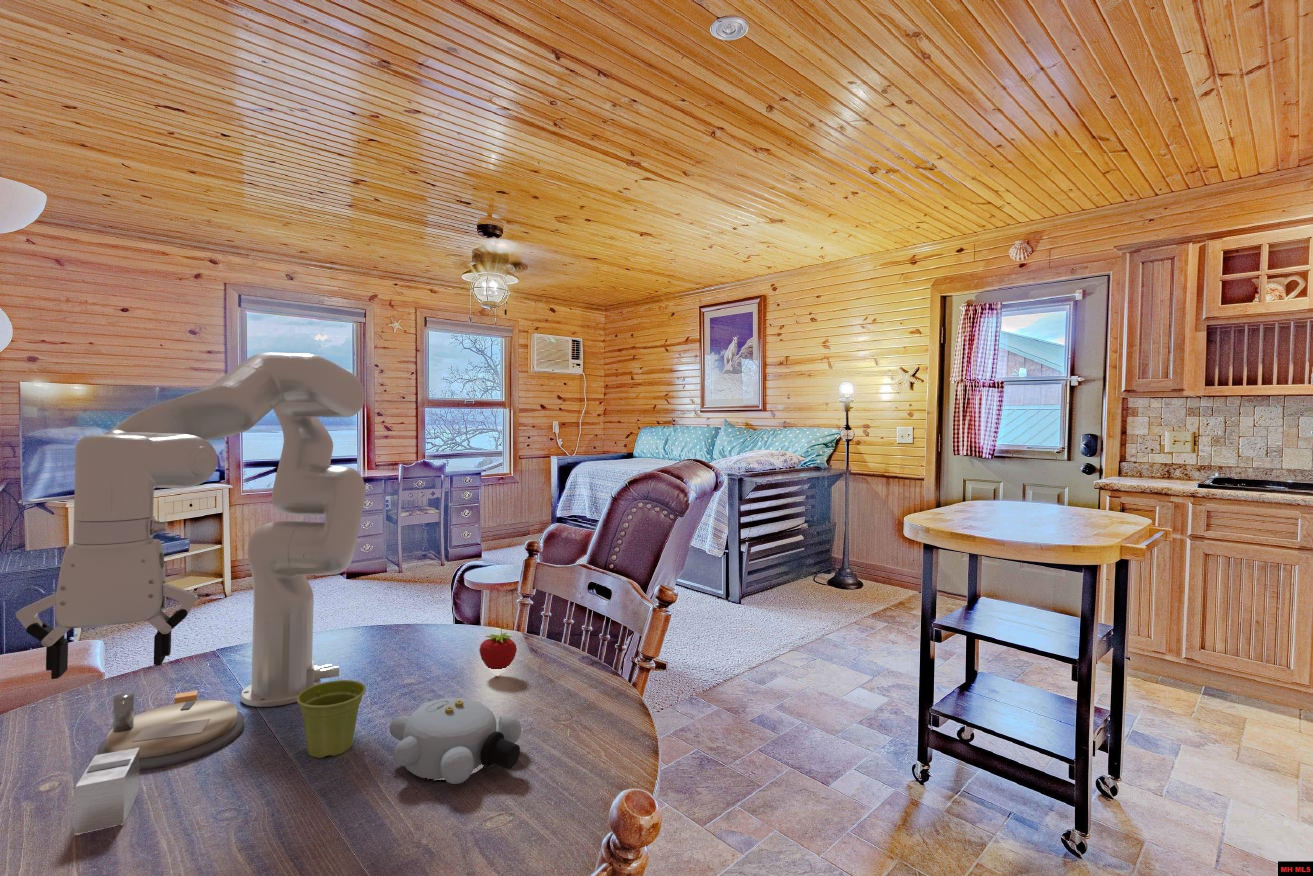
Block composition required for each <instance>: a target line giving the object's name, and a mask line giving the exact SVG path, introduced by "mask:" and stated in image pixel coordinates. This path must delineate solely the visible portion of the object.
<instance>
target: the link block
mask: <svg viewBox="0 0 1313 876" xmlns="http://www.w3.org/2000/svg"><path fill="white" fill-rule="evenodd" d="M139 758H140V748H134V749H128V750H123V751H117V752H111V753H106V754H100V755H97V754H96V755H94V757H93V759H92V760H91V761H90V763H89V765H88V766H87V767H86V769H85V771H84V773H83V774H82V775H81V777H80V779H79V780H78V782H77V783H76V785H75V790H74V792H75V794H74V795H75V796H74V826H73V827H74V828H73V829H74V830H73V831H74V832H73V834H76V833H81V832H88V831H91V830H96V829H101V828H106V827H109V826H113V825H121V824H122V823H123V824H125V823H124V821H125V819H126V817H127V818H128V816H129V814H130V812H129V811H131V809H132V807H133V805H134V803H135V802H136V801H135V800H136V798H137V796H138V794H139V791H140V785H139V784H140V770H139ZM126 820H127V819H126ZM125 822H126V821H125Z"/></svg>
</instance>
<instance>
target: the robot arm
mask: <svg viewBox="0 0 1313 876" xmlns="http://www.w3.org/2000/svg"><path fill="white" fill-rule="evenodd" d="M365 397H366V395H365V389H364V386H363V384H362V382H361V381H360V379H359V378H358V377H357V376H356V375H355V374H354V373H352V372H350V371H349V370H347V369H345V368H343V367H342V366H340V365H338V364H336V363H334V362H333V361H331V360H329V359H326V358H324V357H322V356H319V355H316V354H312V353H303V352H302V353H299V352H297V353H293V352H291V353H290V352H262V353H258V354H253V355H252V356H249V357H248V358H247V359H245V360H243V361H242V362H241V363H240V364H238V365H237V366H236V367H233V368H232V370H230V371H228V372H227V373H226V374H224V375H223V376H221V377H220V378H219V379H217V380H216V381H214V382H213V383H212V384H210V385H208V386H207V387H205V388H203V389H200V390H197V391H196V390H195V391H193V392H190V393H186V394H184V395H180V396H179V397H176V398H172V399H170V400H166V401H163V402H159V403H158V404H154V405H151V406H149V407H146V408H144V409H142V410H141V409H140V410H139V411H137V412H135V413H133V414H131V415H130V416H128V417H126V418H125V419H123V420H122V421H120V422H119V423H117V424H116V425H114V426H113V427H112V428H110V429H108V430H107V431H106V432H105V433H104V434H90V435H85V436H83V437H81V438H79V440H77V443H76V446H75V458H74V461H75V463H74V467H75V468H74V499H73V501H74V502H73V535H72V537H73V538H72V540H73V541H72V542H73V543H71V544H68V545H67V546H66V547H65V549H64V553H63V557H62V560H61V563H60V564H61V565H60V568H59V575H58V580H57V586H56V587H57V588H56V591H55V593H53V594H50V595H48V596H45V597H44V598H42V599H39V600H38V601H35V602H33V603H31V604H28V605H26V606H24V607H22V608H20V609H19V610H18V611H16V612H15V617H16V619H17V620H18V622H19V623H20V624H21V625H22V626H23V628H25V631H26V633H27V634H28V635H29V636H31V637H33V638H34V639H36V640H38V641H39V642H41V645H42V646H43V647H44V648H45V647H46V652H45V653H46V654H45V671H47V672H48V671H51V672H50V675H51V676H50V678H51V680H57V679H60V678H61V677H62V676H63V675H64V674H65V673H66V672H67V671H68V667H69V666H68V664H69V663H68V661H69V640H68V639H67V638H65V634H67V633H68V631H70V630H71V629H81V628H84V629H85V628H92V627H103V626H111V625H113V626H114V625H123V624H133V623H140V622H142V623H143V622H147V623H149V624H150V625H151V626H152V627H153V628H154V629H156V630H157V632H156V633H155V635H154V639H153V666H155V667H157V666H162V664H163V663H164V661H165V658H166V657H169V656H171V652H172V630H173V629H175V628H176V627H177V626H178V625H179V624H180V623H181V622H182V621H184V619H186V618H187V616H188V615H189V613H190V612H191V610H192V608H193V606H194V605H195V603H196V602H197V600H198V598H199V595H198V593H195V592H193V591H190V590H187V589H183V588H181V587H178V586H175V585H172V584H169V583H167V580H166V579H167V578H166V576H167V575H166V565H165V556H164V550H163V545H162V544H163V543H162V542H161V539H158V538H154V536H155V535H157V534H159V533H165V532H168V531H167V530H168V522H167V521H160V520H157V519H156V518H155V516H154V505H155V502H154V499H155V497H154V495H155V489H156V488H157V489H158V488H160V489H162V488H164V489H188V488H193V487H196V486H199V485H201V484H203V483H205V482H206V481H207V480H209V479H210V478H211V477H212V476H213V475H214V473H215V472H216V470H217V468H218V467H217V466H218V462H219V461H218V459H219V457H218V454H217V451H216V449H215V448H214V446H213V445H212V443H210V442H209V441H210V440H216V439H217V440H218V439H222V438H226V437H231V436H235V435H239V434H241V433H245V432H247V431H249V430H250V429H252V428H253V427H254V426H255V425H256V424H257V423H258V422H260V421H261V420H262V419H263V418H264V417H265V416H266V415H268V414H269V413H270V412H271V411H272V410H273V411H274V413H275V416H276V418H277V420H278V422H279V424H280V427H281V430H282V434H283V443H282V444H283V445H282V450H281V454H280V459H279V462H278V466H277V471H276V474H275V479H274V482H273V487H272V492H271V502H272V503H271V504H272V506H273V508H274V509H275V510H276V511H278V512H279V513H281V514H285V515H291V516H303V517H304V516H305V517H307V516H311V517H313V516H315V517H325V522H322V521H320V522H319V521H302V520H301V521H299V520H298V521H296V520H295V521H293V520H280V521H278V520H277V521H273V522H268V523H264V524H263V525H261V526H259V527H257V528H256V529H255V530H254V531H253V533H252V534H251V535H250V537H249V540H248V544H247V556H248V562H249V567H250V572H251V578H252V588H253V601H252V602H253V605H252V607H253V612H252V643H251V644H252V645H251V646H252V648H251V649H252V650H251V651H252V653H251V684H249V685H248V686H246V687H245V688H244V689H243V690H242V691H241V693H240V700H241V703H243V704H245V705H246V706H250V707H257V708H269V707H279V706H280V707H281V706H285V705H289V704H292V703H297V696H298V695H299V693H301V692H302V691H303V690H305V689H307V688H309V687H311V686H314V685H317V684H320V683H322V680H321V679H323V680H324V679H332V678H338V677H339V678H340V665H338V666H332V665H333V664H324V665H319V666H318V664H315V659H313V641H314V640H313V638H314V603H315V602H314V601H315V600H314V599H315V596H314V592H313V588H312V585H311V584H310V582H309V580H308V579H307V577H306V575H309V576H311V575H314V576H316V575H317V576H334V575H339V574H341V573H343V572H345V571H346V570H347V569H348V568H349V567H350V565H351V563H352V561H353V558H354V555H355V551H356V546H357V541H358V535H359V532H360V527H361V522H362V516H363V510H364V505H365V498H366V486H365V481H364V479H363V476H362V474H361V473H360V472H359V471H358V470H356V469H354V468H352V467H349V466H348V467H347V466H339V465H337V466H336V465H335V466H334V465H331V461H332V457H333V451H334V441H333V439H332V436H331V435H330V432H329V431H328V429H327V428H326V427H325V425H324V424H323V423H322V421H321V420H320V419H319V417H320V418H350V417H353V416H355V415H357V414H358V413H359V412H360V411H361V409H362V408H363V406H364V404H365ZM167 598H170V599H173V600H176V601H178V602H180V603H181V604H180V606H179V608H178V609H177V610H176V611H175V612H174V613H173V614H172V615H169V614H168V613H166V612H165V611H164V610H163V609H165V607H166V603H167V602H166V601H167ZM51 607H54V622H55V624H56V626H55V627H54V628H53V627H52V626H50V625H49V624H47V623H45V622H44V621H42V620H41V618H40V616H39V613H42V612H43V611H46V610H47V609H50V608H51Z"/></svg>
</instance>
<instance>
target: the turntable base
mask: <svg viewBox="0 0 1313 876" xmlns="http://www.w3.org/2000/svg"><path fill="white" fill-rule="evenodd" d="M173 701H174V702H173V704H177V703H183V702H189V701H199V690H191V691H185V692H179V693H176V694H175V695H174V698H173ZM244 728H245V716H244V714H243V713H242V712H241V711H239V710H237V722H236V724H235V725H234V726H233V727H232V728H231V729H230V730H229V731H228V732H226V733H225V734H223V735H222V736H220V737H218V738H216V739H214V740H212V741H210V742H207V743H205V744H202V745H200V746H197V747H194V748H191V749H188V750H184V751H180V752H176V753H172V754H167V755H162V756H155V757H146V758H139V771H140V770H150V769H156V768H157V769H158V768H163V767H167V766H172V765H176V764H180V763H184V762H187V761H191V760H194V759H197V758H199V757H203V756H205V755H207V754H210V753H212V752H214V751H217V750H218V749H221V748H222V747H224V746H226V745H228V744H229V743H231V742H232V741H234V740H235V739H236V738H237V737H239V735H240V734H241V733H242V732H243V731H244ZM96 751H97V752H96V753H97V754H96V755H100V754H106V753H109V752H108V751H107V737H106V738H104V740H103V741H102V742H101V743H100V744H99V745H98V747H97V750H96Z"/></svg>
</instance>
